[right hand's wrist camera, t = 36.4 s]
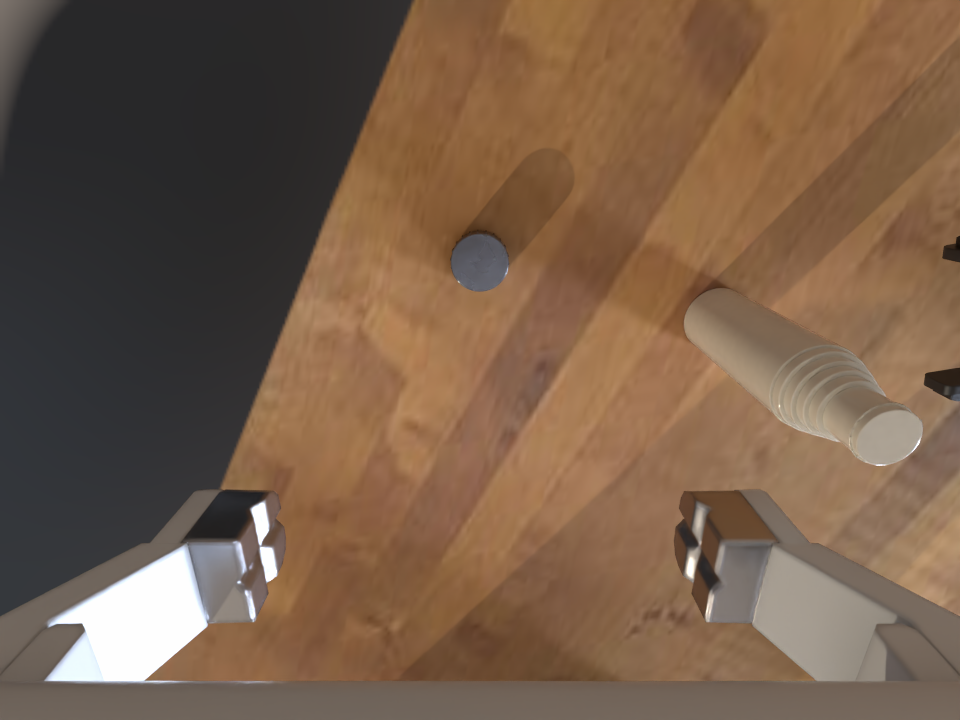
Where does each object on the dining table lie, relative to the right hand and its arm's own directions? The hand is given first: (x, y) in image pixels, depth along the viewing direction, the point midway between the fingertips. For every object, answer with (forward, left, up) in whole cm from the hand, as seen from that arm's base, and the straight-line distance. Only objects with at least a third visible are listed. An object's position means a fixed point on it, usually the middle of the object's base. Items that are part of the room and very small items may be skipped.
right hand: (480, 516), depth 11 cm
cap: (0, 0, -28) cm, 28 cm away
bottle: (-14, -12, -29) cm, 34 cm away
